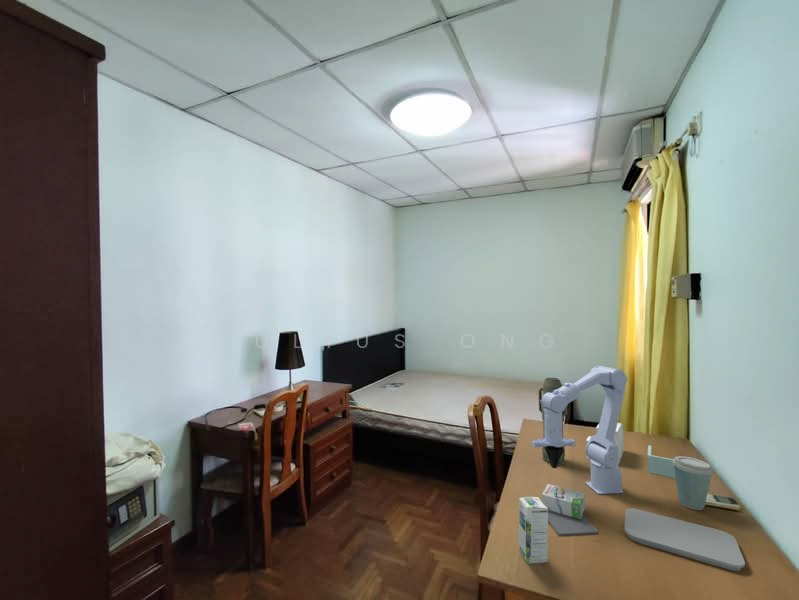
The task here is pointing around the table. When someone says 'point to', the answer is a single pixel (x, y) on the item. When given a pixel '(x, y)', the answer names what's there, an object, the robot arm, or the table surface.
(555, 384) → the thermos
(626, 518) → the tablet
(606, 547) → the table surface
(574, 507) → the ink box
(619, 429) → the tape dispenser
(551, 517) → the mat
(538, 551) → the syrup box
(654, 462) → the l-shaped corner panel
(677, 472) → the disposable coffee cup
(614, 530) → the table surface
